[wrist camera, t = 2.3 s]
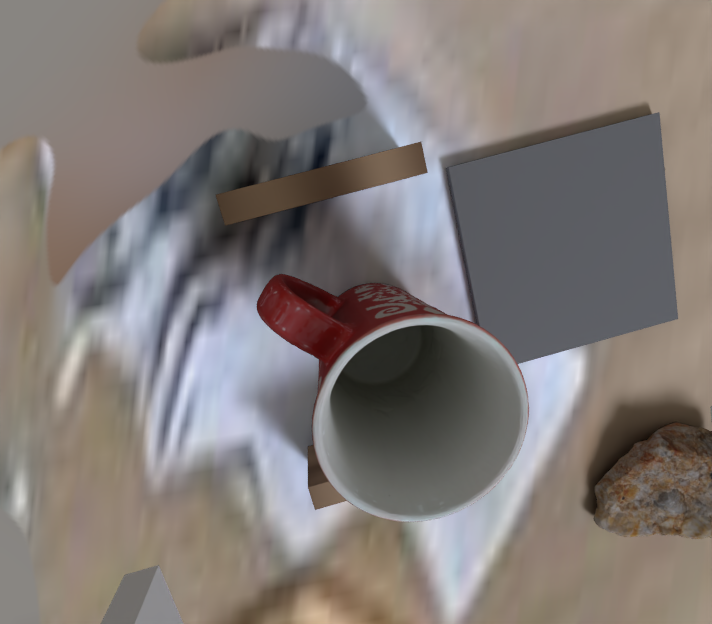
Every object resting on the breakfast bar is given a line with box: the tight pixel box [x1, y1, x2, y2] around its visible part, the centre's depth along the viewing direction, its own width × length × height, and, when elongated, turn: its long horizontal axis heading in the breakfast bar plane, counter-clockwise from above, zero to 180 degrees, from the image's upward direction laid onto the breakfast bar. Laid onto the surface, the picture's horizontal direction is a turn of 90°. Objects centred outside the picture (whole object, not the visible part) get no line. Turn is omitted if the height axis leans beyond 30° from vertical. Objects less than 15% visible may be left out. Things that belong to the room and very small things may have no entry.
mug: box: [257, 274, 529, 522], centre depth 25 cm, size 13×9×14 cm
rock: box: [594, 423, 712, 539], centre depth 35 cm, size 9×6×10 cm
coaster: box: [446, 112, 678, 364], centre depth 32 cm, size 14×14×1 cm
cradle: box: [216, 142, 428, 510], centre depth 29 cm, size 11×19×5 cm, turn 14°
